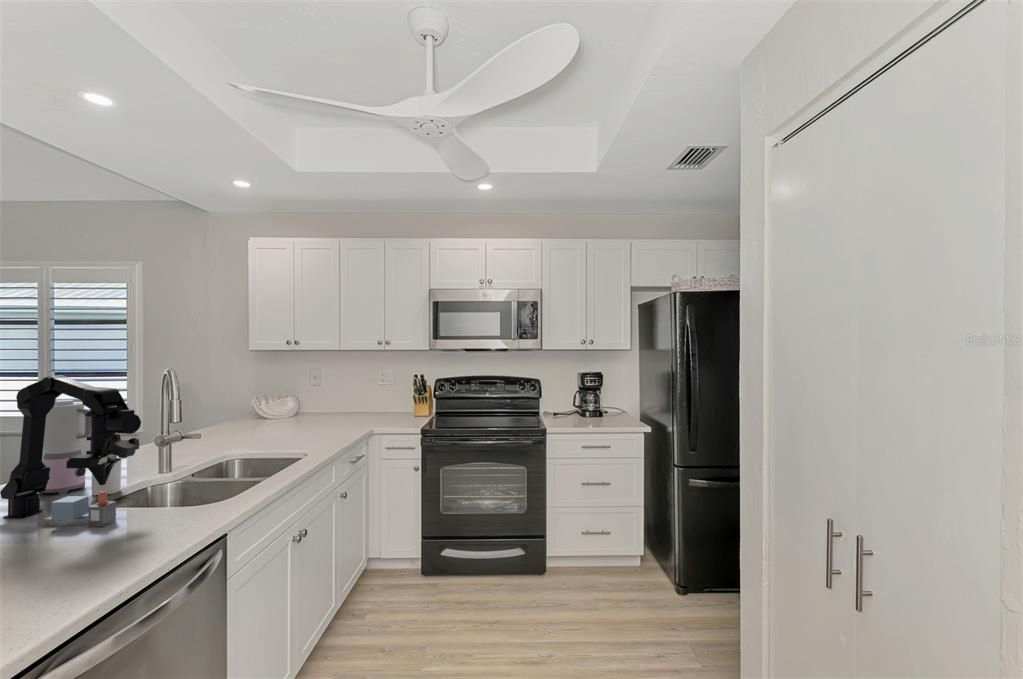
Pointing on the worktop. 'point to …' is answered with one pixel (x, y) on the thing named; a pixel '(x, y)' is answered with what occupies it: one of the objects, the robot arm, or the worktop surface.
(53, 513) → the pale blue box
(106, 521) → the end cabinet
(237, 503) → the worktop surface
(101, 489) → the pill bottle
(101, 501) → the gauge button
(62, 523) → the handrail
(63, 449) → the blender
